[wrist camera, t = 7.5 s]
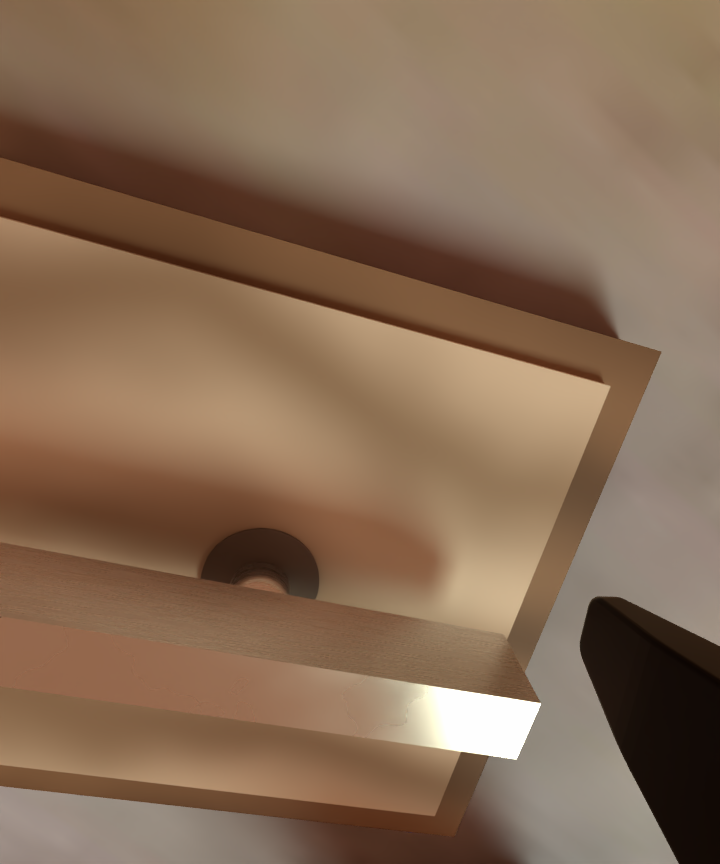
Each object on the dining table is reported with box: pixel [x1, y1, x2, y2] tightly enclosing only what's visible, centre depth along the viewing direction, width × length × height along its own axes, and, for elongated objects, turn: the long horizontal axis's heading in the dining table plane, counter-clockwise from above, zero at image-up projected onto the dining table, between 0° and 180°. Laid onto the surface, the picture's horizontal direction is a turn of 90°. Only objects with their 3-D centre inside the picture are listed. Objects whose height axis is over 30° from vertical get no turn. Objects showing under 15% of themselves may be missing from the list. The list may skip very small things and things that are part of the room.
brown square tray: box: [0, 157, 661, 837], centre depth 21 cm, size 22×22×3 cm
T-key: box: [0, 542, 541, 759], centre depth 17 cm, size 16×2×5 cm, turn 74°
